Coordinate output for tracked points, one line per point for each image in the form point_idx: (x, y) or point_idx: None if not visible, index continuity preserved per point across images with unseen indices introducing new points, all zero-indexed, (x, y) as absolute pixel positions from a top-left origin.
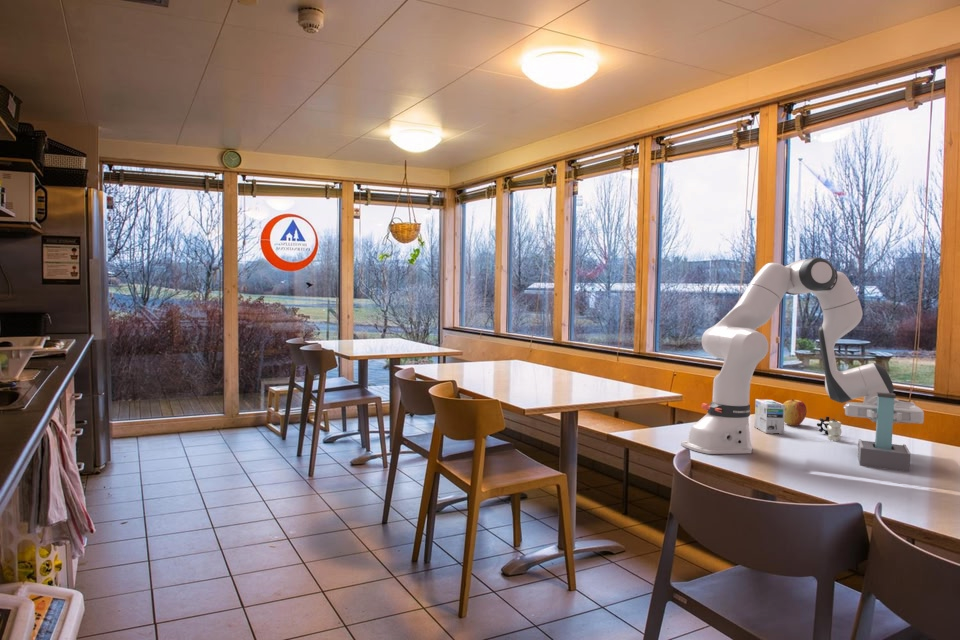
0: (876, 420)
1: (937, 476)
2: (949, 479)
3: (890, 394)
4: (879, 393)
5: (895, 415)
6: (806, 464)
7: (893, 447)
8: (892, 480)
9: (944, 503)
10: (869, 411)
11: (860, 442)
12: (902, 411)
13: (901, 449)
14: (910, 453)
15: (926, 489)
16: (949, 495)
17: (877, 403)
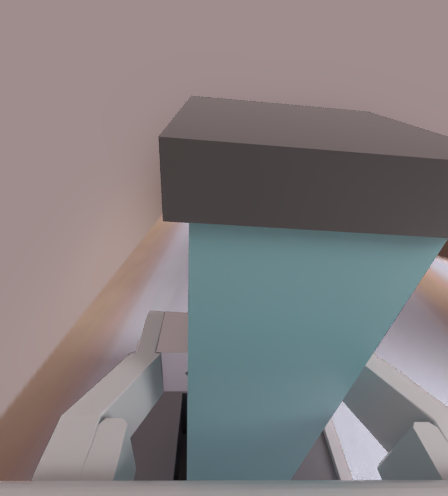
0: (313, 438)
1: (29, 443)
2: (7, 416)
3: (245, 102)
4: (353, 111)
5: (175, 313)
6: (414, 361)
7: (174, 472)
8: None
9: (150, 240)
10: (406, 384)
11: (342, 461)
12: (6, 483)
13: (144, 428)
14: (138, 342)
15: (149, 287)
16: (119, 272)
17: (381, 324)
